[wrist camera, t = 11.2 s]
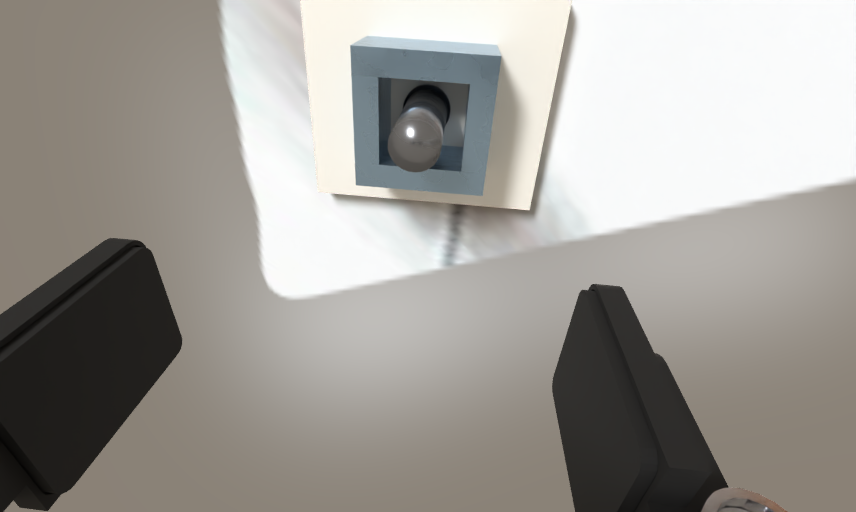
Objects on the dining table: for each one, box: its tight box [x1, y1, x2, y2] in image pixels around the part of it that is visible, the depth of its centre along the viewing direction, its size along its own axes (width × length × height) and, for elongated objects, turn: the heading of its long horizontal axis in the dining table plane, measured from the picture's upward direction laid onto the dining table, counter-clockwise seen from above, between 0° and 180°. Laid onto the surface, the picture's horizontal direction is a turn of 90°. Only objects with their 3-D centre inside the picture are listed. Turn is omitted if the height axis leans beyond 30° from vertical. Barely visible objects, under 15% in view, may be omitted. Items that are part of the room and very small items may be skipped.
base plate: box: [300, 0, 572, 210], centre depth 26 cm, size 14×12×2 cm
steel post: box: [388, 84, 450, 172], centre depth 22 cm, size 3×3×7 cm
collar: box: [350, 36, 502, 196], centre depth 23 cm, size 7×7×4 cm
